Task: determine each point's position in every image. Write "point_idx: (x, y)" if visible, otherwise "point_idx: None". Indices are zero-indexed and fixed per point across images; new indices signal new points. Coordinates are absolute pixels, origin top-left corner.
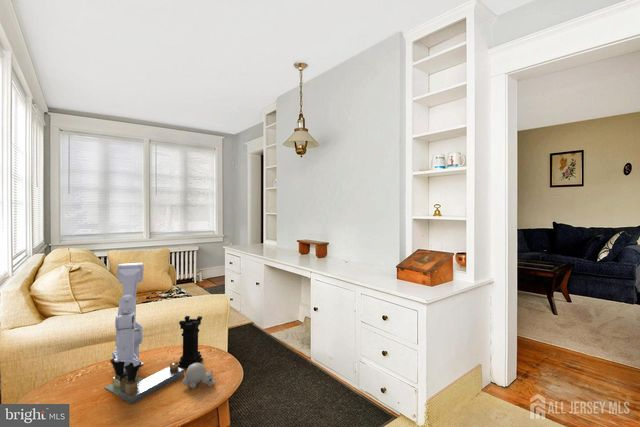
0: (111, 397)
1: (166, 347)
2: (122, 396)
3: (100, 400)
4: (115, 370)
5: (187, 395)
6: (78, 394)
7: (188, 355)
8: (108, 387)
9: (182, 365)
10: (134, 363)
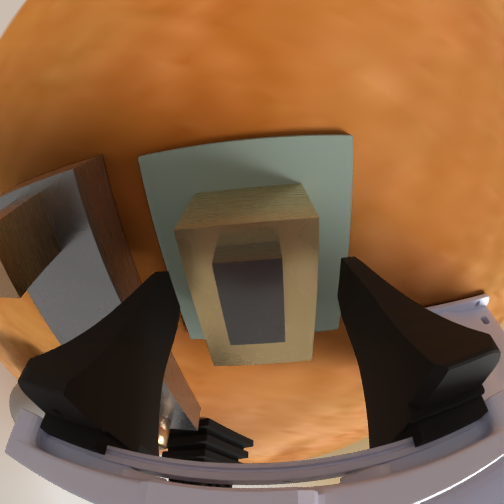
0: (156, 110)
1: None
2: (67, 167)
3: (183, 39)
4: (379, 289)
5: (13, 335)
6: (412, 6)
7: None
8: (317, 152)
9: (198, 429)
10: (10, 435)
